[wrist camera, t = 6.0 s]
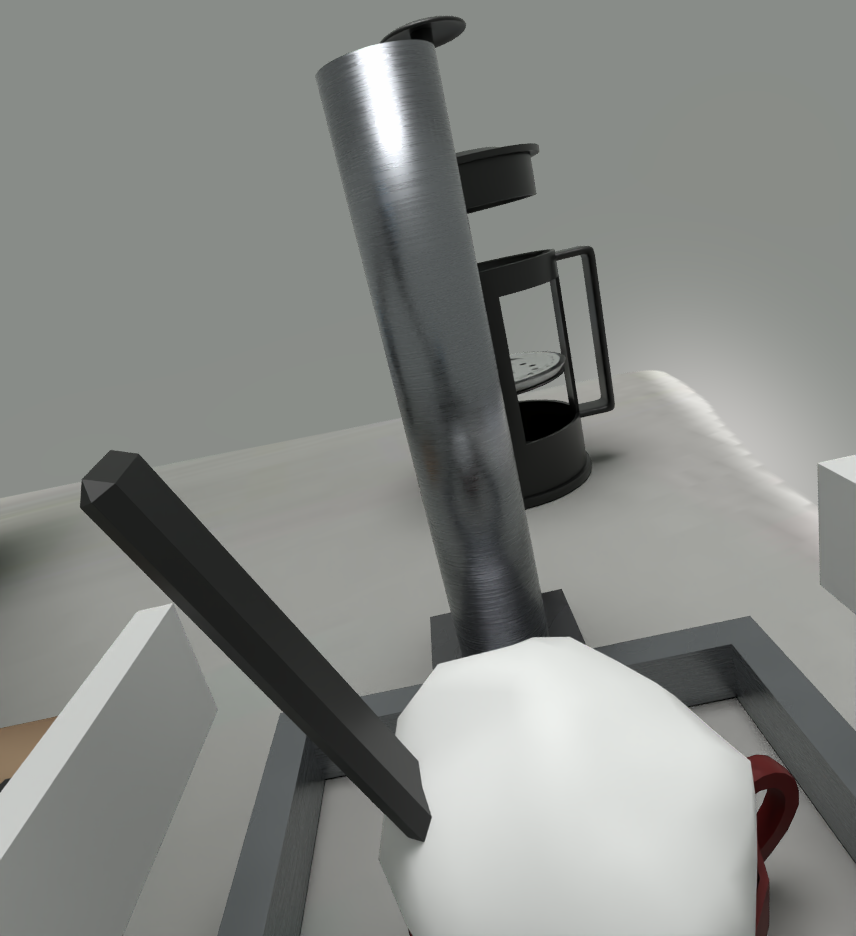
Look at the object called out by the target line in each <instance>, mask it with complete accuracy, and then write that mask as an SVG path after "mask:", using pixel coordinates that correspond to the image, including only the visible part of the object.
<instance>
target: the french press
mask: <svg viewBox="0 0 856 936" xmlns="http://www.w3.org/2000/svg"><path fill="white" fill-rule="evenodd" d="M465 28H466V23H465V21H464V20H463V19H461V18H458V17H454V16H435V17H428V18H424V19H420V20H417V21H413V22H411V23H408V24H406V25H404V26H401V27H399V28H397V29H396V30H394V31H392V32H391V33H390V34H388V35H387V36H386V37H384V38H383V40H382V41H381V42H380V43H379V44H381V43H386V42H392V41H399V40H424V41H428V42H431V43H432V44H433V45H434V46H435V48H436V47H438V46H441V45H443V44H445V43H447V42H449V41H451V40H453V39H455V38H456V37H458V36H459V35H460V34H461V33H462V32H463V31H464V30H465ZM538 152H539V146H538V145H537V144H519V145H513V146H506V147H486V148H479V149H473V150H468V151H463V152H459V153H455V154H456V159H457V164H458V169H459V175H460V180H461V185H462V190H463V195H464V200H465V205H466V210H467V214H469V213H473V212H476V211H480V210H484V209H488V208H492V207H495V206H499V205H503V204H506V203H510V202H514V201H517V200H521V199H524V198H527V197H530V196H533V195H536V188H535V182H534V175H533V169H532V163H531V157H532V156H534V155H536V154H538ZM578 255H581V258H582V264H583V271H584V278H585V285H586V292H587V299H588V306H589V313H590V321H591V328H592V335H593V342H594V349H595V356H596V363H597V370H598V377H599V385H600V392H601V398H600V399H598V400H595V401H591V402H586V403H582V404H578V399H577V392H576V386H575V379H574V373H573V367H572V360H571V353H570V347H569V340H568V334H567V328H566V321H565V314H564V308H563V301H562V295H561V288H560V282H559V275H558V269H557V262H556V261H557V260H561V259H565V258H570V257H574V256H578ZM477 267H478V272H479V277H480V282H481V287H482V292H483V298H484V303H485V308H486V313H487V318H488V323H489V328H490V334H491V339H492V344H493V349H494V354H495V359H496V364H497V369H498V375H499V380H500V385H501V390H502V395H503V400H504V405H505V410H506V416H507V421H508V426H509V431H510V436H511V441H512V446H513V451H514V457H515V462H516V467H517V472H518V477H519V482H520V487H521V492H522V498H523V503H524V508H529V507H533V506H537V505H540V504H543V503H546V502H549V501H552V500H554V499H557V498H559V497H561V496H563V495H565V494H567V493H569V492H571V491H572V490H574V489H575V488H577V487H578V486H580V485H581V484H582V483H583V482H584V481H585V480H586V479H587V478H588V476H589V474H590V473H591V467H592V463H591V459H590V456H589V454H588V453H587V452H586V450H585V444H584V438H583V431H582V425H581V418H582V417H586V416H591V415H595V414H600V413H604V412H608V411H611V410H613V409H614V406H615V403H614V394H613V386H612V379H611V372H610V364H609V357H608V349H607V342H606V334H605V327H604V319H603V312H602V304H601V297H600V291H599V282H598V275H597V267H596V260H595V254H594V251H593V248H592V247H590V246H577V247H573V248H569V249H565V250H560V251H556V252H555V250H554V249H547V250H540V251H534V252H528V253H523V254H518V255H513V256H508V257H503V258H499V259H494V260H490V261H485V262H481V263H477ZM549 281H550V286H551V292H552V297H553V304H554V311H555V317H556V323H557V330H558V336H559V342H560V348H561V354H560V353H555V352H544V351H543V352H524V353H516V354H509V349H508V344H507V338H506V333H505V328H504V323H503V317H502V312H501V306H500V301H499V297H501V296H504V295H508V294H512V293H516V292H519V291H522V290H526V289H529V288H532V287H535V286H538V285H541V284H544V283H546V282H549ZM563 372H564V374H565V380H566V386H567V392H568V399H569V403H567V402H564V401H557V400H526V401H518V397H517V395H518V394H521V393H524V392H527V391H530V390H533V389H535V388H538V387H540V386H543V385H545V384H547V383H549V382H551V381H553V380H554V379H556V378H557V377H559V376H560V375H561V374H562V373H563Z"/></svg>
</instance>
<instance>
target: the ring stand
mask: <svg viewBox="0 0 856 936" xmlns="http://www.w3.org/2000/svg"><path fill="white" fill-rule="evenodd" d="M316 81H317V85H318V89H319V93H320V97H321V101H322V105H323V109H324V113H325V116H326V121H327V125H328V128H329V133H330V136H331V140H332V144H333V148H334V152H335V156H336V160H337V164H338V168H339V172H340V176H341V180H342V184H343V188H344V192H345V196H346V200H347V204H348V207H349V212H350V215H351V219H352V223H353V227H354V231H355V235H356V239H357V243H358V247H359V251H360V255H361V259H362V263H363V267H364V271H365V275H366V278H367V283H368V287H369V290H370V294H371V298H372V302H373V306H374V310H375V314H376V318H377V322H378V326H379V330H380V334H381V338H382V342H383V345H384V350H385V354H386V358H387V361H388V365H389V369H390V373H391V377H392V381H393V385H394V389H395V393H396V397H397V401H398V405H399V409H400V413H401V417H402V421H403V425H404V429H405V433H406V437H407V441H408V444H409V448H410V452H411V456H412V460H413V464H414V468H415V472H416V476H417V480H418V484H419V488H420V492H421V496H422V500H423V504H424V508H425V512H426V516H427V519H428V523H429V527H430V531H431V535H432V539H433V543H434V547H435V551H436V555H437V559H438V563H439V567H440V571H441V575H442V579H443V583H444V587H445V591H446V594H447V598H448V602H449V606H450V610H451V613H447V614H442V615H438V616H433V617H430V622H431V643H432V664H433V670H434V669H435V668H436V666H437V665H438V664H440V663H444V662H448V661H452V660H456V659H460V658H464V657H468V656H472V655H476V654H480V653H484V652H488V651H492V650H496V649H500V648H504V647H508V646H511V645H514V644H517V643H519V642H522V641H525V640H527V639H530V638H532V637H571V638H573V639H575V640H577V641H579V642H581V643H583V644H585V641H584V639H583V637H582V635H581V632H580V630H579V628H578V625H577V623H576V621H575V619H574V616H573V614H572V612H571V609H570V607H569V605H568V603H567V600H566V598H565V596H564V593H563V591H562V589H560V590H555V591H550V592H546V593H541V590H540V585H539V580H538V575H537V569H536V564H535V559H534V554H533V549H532V544H531V539H530V533H529V528H528V523H527V518H526V513H525V508H524V503H523V498H522V492H521V487H520V482H519V477H518V472H517V467H516V462H515V457H514V451H513V446H512V441H511V436H510V431H509V426H508V421H507V416H506V410H505V405H504V400H503V395H502V390H501V385H500V380H499V375H498V369H497V364H496V359H495V354H494V349H493V344H492V339H491V334H490V328H489V323H488V318H487V313H486V308H485V303H484V298H483V292H482V287H481V282H480V277H479V272H478V267H477V262H476V257H475V251H474V246H473V241H472V236H471V231H470V226H469V221H468V216H467V210H466V205H465V200H464V195H463V190H462V185H461V180H460V175H459V169H458V164H457V159H456V154H455V149H454V144H453V139H452V134H451V129H450V123H449V118H448V113H447V108H446V103H445V98H444V93H443V87H442V83H441V77H440V72H439V67H438V62H437V57H436V52H435V46H434V45H433V44H432V43H431V42H428V41H424V40H399V41H392V42H386V43H381V44H377V45H373V46H369V47H365V48H362V49H359V50H356V51H353V52H350V53H348V54H345V55H343V56H341V57H339V58H337V59H335V60H333V61H331V62H329V63H328V64H326V65H325V66H323V67H322V68H321V69H320V70H319V71H318V73H317V74H316ZM585 645H586V644H585ZM593 649H594V650H596V651H598V652H600V653H602V654H604V655H606V656H608V657H610V658H612V659H614V660H616V661H618V662H620V663H621V664H623V665H625V666H627V667H629V668H630V669H632V670H634V671H636V672H637V673H639V674H641V675H643V676H645V677H646V678H648V679H650V680H652V681H654V682H655V683H657V684H658V685H660V686H661V687H663V688H664V689H666V690H667V691H668V692H670V693H671V694H673V695H674V696H676V697H677V698H678V699H679V700H680V701H681V702H682V703H683V704H685V705H686V706H692V705H697V704H702V703H707V702H712V701H717V700H722V699H727V698H732V697H737V698H738V700H739V701H740V703H741V704H742V705H743V707H744V708H745V710H746V711H747V712H748V714H749V715H750V717H751V718H752V719H753V721H754V722H755V723H756V725H757V726H758V728H759V729H760V730H761V732H762V733H763V735H764V736H765V737H766V739H767V740H768V742H769V743H770V744H771V746H772V747H773V748H774V750H775V751H776V753H777V754H778V755H779V757H780V758H781V760H782V761H783V762H784V764H785V765H786V767H787V768H788V769H789V771H790V772H791V773H792V775H793V776H794V778H795V779H796V780H797V782H798V783H799V785H800V786H801V787H802V789H803V790H804V791H805V793H806V794H807V796H808V797H809V798H810V800H811V801H812V803H813V804H814V805H815V807H816V808H817V810H818V811H819V812H820V814H821V815H822V816H823V818H824V819H825V821H826V822H827V823H828V825H829V826H830V828H831V829H832V830H833V832H834V833H835V835H836V836H837V837H838V839H839V840H840V841H841V843H842V844H843V846H844V847H845V848H846V850H847V851H848V853H849V854H850V855H851V857H852V858H853V860H854V861H855V862H856V731H855V730H854V729H853V728H852V727H851V726H850V725H849V723H848V722H847V721H846V720H845V719H844V718H843V717H842V716H841V715H840V714H839V713H838V711H837V710H836V709H835V708H834V707H833V706H832V705H831V704H830V703H829V702H828V701H827V699H826V698H825V697H824V696H823V695H822V694H821V693H820V692H819V691H818V690H817V689H816V687H815V686H814V685H813V684H812V683H811V682H810V681H809V680H808V679H807V678H806V677H805V675H804V674H803V673H802V672H801V671H800V670H799V669H798V668H797V667H796V666H795V664H794V663H793V662H792V661H791V660H790V659H789V658H788V657H787V656H786V655H785V654H784V652H783V651H782V650H781V649H780V648H779V647H778V646H777V645H776V644H775V643H774V642H773V640H772V639H771V638H770V637H769V636H768V635H767V634H766V633H765V632H764V631H763V630H762V628H761V627H760V626H759V625H758V624H757V623H756V622H755V621H754V620H753V619H752V618H751V616H747V617H742V618H738V619H733V620H728V621H723V622H718V623H713V624H709V625H704V626H699V627H694V628H689V629H684V630H680V631H675V632H670V633H665V634H660V635H656V636H651V637H646V638H641V639H636V640H631V641H627V642H622V643H617V644H612V645H607V646H603V647H598V648H593ZM422 685H423V684H419V685H414V686H410V687H405V688H400V689H395V690H390V691H386V692H381V693H376V694H371V695H366V696H361V699H362V700H363V701H364V702H365V703H366V704H367V705H368V706H369V707H370V708H371V710H372V711H373V712H374V713H375V714H376V715H377V716H378V717H379V718H380V719H381V721H382V722H383V723H384V724H385V725H386V726H387V727H388V728H389V729H390V730H391V732H392V733H393V734H394V735H395V733H396V726H397V719H398V717H399V716H400V714H401V713H402V712H403V710H404V709H405V708H406V706H407V705H408V704H409V702H410V701H411V700H412V698H413V697H414V696H415V694H416V693H417V692H418V690H419V689H420V688H421V686H422ZM343 775H345V774H344V773H343V772H342V771H341V770H340V769H339V768H338V767H337V766H336V765H335V764H334V763H333V762H332V761H331V760H330V759H329V758H328V757H327V756H326V755H325V754H324V753H323V752H322V751H321V750H320V749H319V748H318V747H317V746H316V745H315V744H314V742H313V741H312V740H311V739H310V738H309V737H308V736H307V735H306V734H305V733H304V732H303V731H302V730H301V729H300V728H299V727H298V726H297V725H296V724H295V723H294V722H293V721H292V720H291V719H290V718H289V717H288V716H287V715H286V714H285V713H280V716H279V720H278V723H277V727H276V731H275V734H274V738H273V741H272V745H271V748H270V752H269V755H268V759H267V762H266V766H265V769H264V773H263V776H262V780H261V783H260V787H259V791H258V794H257V798H256V801H255V805H254V808H253V812H252V815H251V819H250V822H249V826H248V829H247V833H246V836H245V840H244V844H243V847H242V851H241V854H240V858H239V861H238V865H237V868H236V872H235V875H234V879H233V882H232V886H231V889H230V893H229V897H228V900H227V904H226V907H225V911H224V914H223V918H222V921H221V925H220V928H219V932H218V935H217V936H300V929H301V923H302V917H303V911H304V905H305V899H306V893H307V887H308V881H309V875H310V868H311V862H312V856H313V850H314V844H315V838H316V832H317V826H318V820H319V814H320V807H321V801H322V795H323V789H324V783H325V779H328V778H333V777H338V776H343Z"/></svg>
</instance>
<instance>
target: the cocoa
mask: <svg viewBox="0 0 856 936" xmlns="http://www.w3.org/2000/svg"><path fill="white" fill-rule="evenodd" d="M80 508H81V509H82V510H83V511H84V512H85V513H86V514H87V515H88V516H89V517H90V518H91V519H92V520H93V521H94V522H95V523H96V524H97V525H98V526H99V527H100V528H101V529H102V530H103V531H104V532H105V533H106V534H107V535H108V536H109V537H110V538H111V539H112V540H113V541H114V542H115V543H116V544H117V545H118V546H119V547H120V548H121V549H122V550H123V551H124V552H125V553H126V554H127V555H128V556H129V557H130V558H131V559H132V560H133V561H134V562H135V563H136V565H137V566H138V567H139V568H140V569H141V570H142V571H143V572H144V573H145V574H146V575H147V576H148V577H149V578H150V579H151V580H152V581H153V582H154V583H155V584H156V585H157V586H158V587H159V588H160V589H161V590H162V591H163V592H164V593H165V594H166V595H167V596H168V597H169V598H170V599H171V600H172V601H173V602H174V603H175V604H176V605H177V606H178V607H179V608H180V609H181V610H182V611H183V612H184V613H185V614H186V615H187V616H188V617H189V618H190V619H191V620H192V621H193V622H194V623H195V624H196V625H197V626H198V627H199V628H200V629H201V630H202V631H203V632H204V633H205V634H206V635H207V636H208V637H209V638H210V639H211V640H212V641H213V642H214V643H215V644H216V645H217V646H218V647H219V648H220V649H221V650H222V651H223V652H224V653H225V654H226V655H227V656H228V657H229V658H230V659H231V660H232V661H233V662H234V663H235V664H236V665H237V666H238V667H239V668H240V669H241V670H242V671H243V672H244V673H245V674H246V675H247V676H248V677H249V678H250V679H251V680H252V681H253V682H254V683H255V684H256V685H257V686H258V687H259V688H260V689H261V690H262V691H263V692H264V693H265V694H266V695H267V696H268V697H269V698H270V699H271V700H272V701H273V702H274V703H275V704H276V705H277V706H278V707H279V708H280V709H281V710H282V711H283V712H284V713H285V714H286V715H287V716H288V717H289V718H290V719H291V720H292V721H293V722H294V723H295V724H296V725H297V726H298V727H299V728H300V729H301V730H302V731H303V732H304V733H305V734H306V735H307V736H308V737H309V738H310V739H311V740H312V741H313V742H314V744H315V745H316V746H317V747H318V748H319V749H320V750H321V751H322V752H323V753H324V754H325V755H326V756H327V757H328V758H329V759H330V760H331V761H332V762H333V763H334V764H335V765H336V766H337V767H338V768H339V769H340V770H341V771H342V772H343V773H344V774H345V775H346V776H347V777H348V778H349V779H350V780H351V781H352V782H353V783H354V784H355V785H356V786H357V787H358V788H359V789H360V790H361V791H362V792H363V793H364V794H365V795H366V796H367V797H368V798H369V799H370V800H371V801H372V802H373V803H374V804H375V805H376V806H377V807H378V808H379V809H380V810H381V811H382V812H383V813H384V819H383V827H382V835H381V844H380V852H379V861H380V863H381V866H382V868H383V871H384V873H385V875H386V878H387V880H388V882H389V885H390V887H391V890H392V892H393V894H394V897H395V899H396V901H397V904H398V906H399V908H400V911H401V913H402V916H403V918H404V920H405V923H406V925H407V927H408V930H409V935H410V936H767V932H768V928H769V878H768V875H767V871H766V868H765V865H764V861H765V860H766V859H767V858H768V856H769V855H770V854H771V853H772V851H773V850H774V849H775V847H776V846H777V844H778V843H779V842H780V840H781V839H782V837H783V836H784V835H785V833H786V832H787V830H788V828H789V826H790V824H791V822H792V820H793V818H794V815H795V813H796V810H797V808H798V805H799V790H798V787H797V784H796V781H795V779H794V777H793V776H792V775H791V774H790V772H789V771H788V770H787V769H786V768H784V767H783V766H782V765H780V764H779V763H778V762H776V761H775V760H773V759H772V758H770V757H769V756H766V755H753V756H750V757H747V758H746V757H745V756H744V755H743V754H741V753H740V752H739V751H738V750H737V749H735V748H734V747H733V746H732V745H731V744H730V743H728V742H727V741H726V740H725V739H724V738H722V737H721V736H720V735H719V734H718V733H716V732H715V731H714V730H713V729H712V728H711V727H709V726H708V725H707V724H706V723H705V722H704V721H703V720H702V719H700V718H699V717H698V716H697V715H696V714H695V713H694V712H692V711H691V710H690V709H689V708H688V707H687V706H686V705H685V704H683V703H682V702H681V701H680V700H679V699H678V698H677V697H676V696H674V695H673V694H671V693H670V692H668V691H667V690H666V689H664V688H663V687H661V686H660V685H658V684H657V683H655V682H654V681H652V680H650V679H648V678H646V677H645V676H643V675H641V674H639V673H637V672H636V671H634V670H632V669H630V668H629V667H627V666H625V665H623V664H621V663H620V662H618V661H616V660H614V659H612V658H610V657H608V656H606V655H604V654H602V653H600V652H598V651H596V650H594V649H593V648H591V647H589V646H587V645H585V644H583V643H581V642H579V641H577V640H575V639H573V638H571V637H532V638H530V639H527V640H525V641H522V642H519V643H517V644H514V645H511V646H508V647H504V648H500V649H496V650H492V651H488V652H484V653H480V654H476V655H472V656H468V657H464V658H460V659H456V660H452V661H448V662H444V663H440V664H438V665H437V666H436V668H435V669H434V670H433V672H432V673H431V674H430V676H429V677H428V678H427V680H426V681H425V682H424V684H423V685H422V686H421V688H420V689H419V690H418V692H417V693H416V694H415V696H414V697H413V698H412V700H411V701H410V702H409V704H408V705H407V706H406V708H405V709H404V710H403V712H402V713H401V714H400V716H399V717H398V719H397V726H396V733H395V735H394V734H393V733H392V732H391V730H390V729H389V728H388V727H387V726H386V725H385V724H384V723H383V722H382V721H381V719H380V718H379V717H378V716H377V715H376V714H375V713H374V712H373V711H372V710H371V708H370V707H369V706H368V705H367V704H366V703H365V702H364V701H363V700H362V699H361V697H360V696H359V695H358V694H357V693H356V692H355V691H354V690H353V689H352V688H351V686H350V685H349V684H348V683H347V682H346V681H345V680H344V679H343V678H342V677H341V676H340V674H339V673H338V672H337V671H336V670H335V669H334V668H333V667H332V666H331V665H330V663H329V662H328V661H327V660H326V659H325V658H324V657H323V656H322V655H321V654H320V652H319V651H318V650H317V649H316V648H315V647H314V646H313V645H312V644H311V643H310V641H309V640H308V639H307V638H306V637H305V636H304V635H303V634H302V633H301V632H300V630H299V629H298V628H297V627H296V626H295V625H294V624H293V623H292V622H291V621H290V619H289V618H288V617H287V616H286V615H285V614H284V613H283V612H282V611H281V610H280V608H279V607H278V606H277V605H276V604H275V603H274V602H273V601H272V600H271V599H270V598H269V596H268V595H267V594H266V593H265V592H264V591H263V590H262V589H261V588H260V587H259V585H258V584H257V583H256V582H255V581H254V580H253V579H252V578H251V577H250V576H249V574H248V573H247V572H246V571H245V570H244V569H243V568H242V567H241V566H240V565H239V563H238V562H237V561H236V560H235V559H234V558H233V557H232V556H231V555H230V554H229V552H228V551H227V550H226V549H225V548H224V547H223V546H222V545H221V544H220V543H219V541H218V540H217V539H216V538H215V537H214V536H213V535H212V534H211V533H210V532H209V531H208V529H207V528H206V527H205V526H204V525H203V524H202V523H201V522H200V521H199V520H198V518H197V517H196V516H195V515H194V514H193V513H192V512H191V511H190V510H189V509H188V507H187V506H186V505H185V504H184V503H183V502H182V501H181V500H180V499H179V498H178V496H177V495H176V494H175V493H174V492H173V491H172V490H171V489H170V488H169V487H168V485H167V484H166V483H165V482H164V481H163V480H162V479H161V478H160V477H159V476H158V474H157V473H156V472H155V471H154V470H153V469H152V468H151V467H150V466H149V465H148V463H147V462H146V461H145V460H144V459H143V458H142V457H141V456H140V455H139V454H136V453H128V452H121V451H113V450H110V451H109V452H108V453H107V454H106V455H105V456H104V457H103V458H102V459H101V460H100V461H99V462H98V463H97V464H96V465H95V466H94V467H93V468H92V470H90V472H89V473H88V474H87V475H86V476H85V477H84V478H83V479H82V485H81V501H80ZM765 789H767V793H766V795H765V798H764V801H763V803H762V805H761V807H760V809H759V811H758V812H757V814H756V796H755V794H756V793H758V792H759V791H761V790H765Z"/></svg>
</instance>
